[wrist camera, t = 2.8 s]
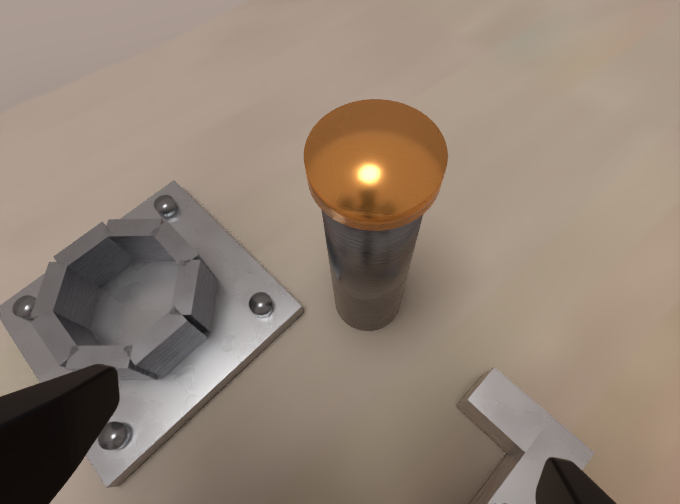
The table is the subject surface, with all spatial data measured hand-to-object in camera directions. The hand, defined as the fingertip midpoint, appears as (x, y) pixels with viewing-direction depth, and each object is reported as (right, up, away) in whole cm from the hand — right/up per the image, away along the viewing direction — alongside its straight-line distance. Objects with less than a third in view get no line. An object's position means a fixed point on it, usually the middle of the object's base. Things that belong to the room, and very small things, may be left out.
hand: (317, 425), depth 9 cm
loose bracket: (+7, -7, +11) cm, 15 cm away
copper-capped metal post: (+2, +1, +15) cm, 15 cm away
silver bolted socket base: (-10, 0, +15) cm, 18 cm away
